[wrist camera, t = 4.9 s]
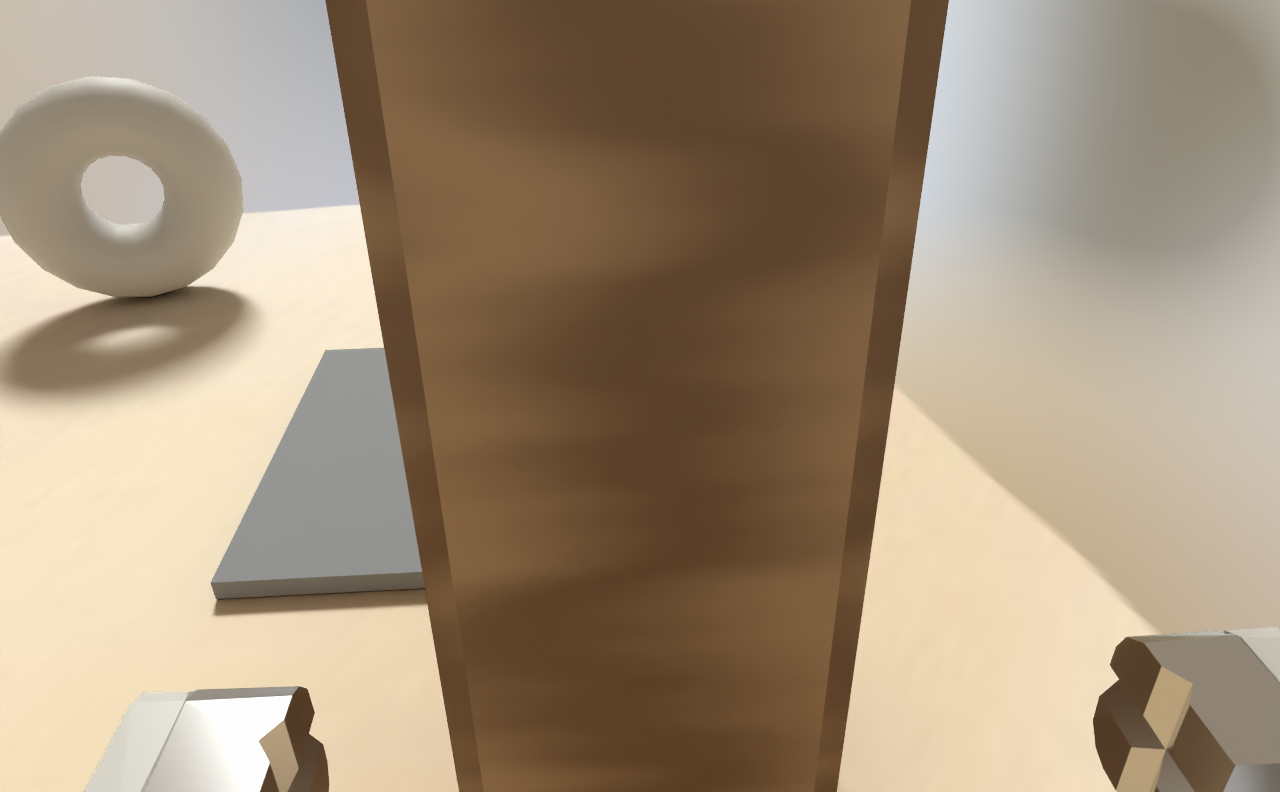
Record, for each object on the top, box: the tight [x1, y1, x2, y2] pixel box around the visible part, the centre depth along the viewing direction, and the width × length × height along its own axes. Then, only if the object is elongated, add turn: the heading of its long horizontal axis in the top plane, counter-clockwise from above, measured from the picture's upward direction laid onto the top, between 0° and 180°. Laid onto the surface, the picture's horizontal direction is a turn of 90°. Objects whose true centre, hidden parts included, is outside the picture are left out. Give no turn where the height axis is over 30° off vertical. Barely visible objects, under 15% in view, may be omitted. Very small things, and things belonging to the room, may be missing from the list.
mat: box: [211, 348, 425, 599], centre depth 32 cm, size 16×14×1 cm
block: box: [326, 0, 949, 792], centre depth 16 cm, size 6×6×19 cm
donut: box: [0, 76, 243, 297], centre depth 42 cm, size 10×3×10 cm, turn 112°
